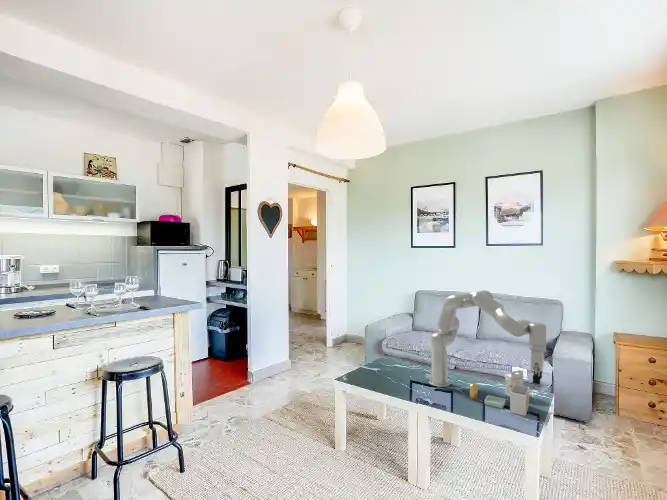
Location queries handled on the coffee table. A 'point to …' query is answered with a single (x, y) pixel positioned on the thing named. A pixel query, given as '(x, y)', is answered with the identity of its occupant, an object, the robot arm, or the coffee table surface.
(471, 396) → the roller
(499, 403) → the tray
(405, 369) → the coffee table surface
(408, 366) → the coffee table surface
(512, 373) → the ink cartridge box
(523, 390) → the white box grey panel
